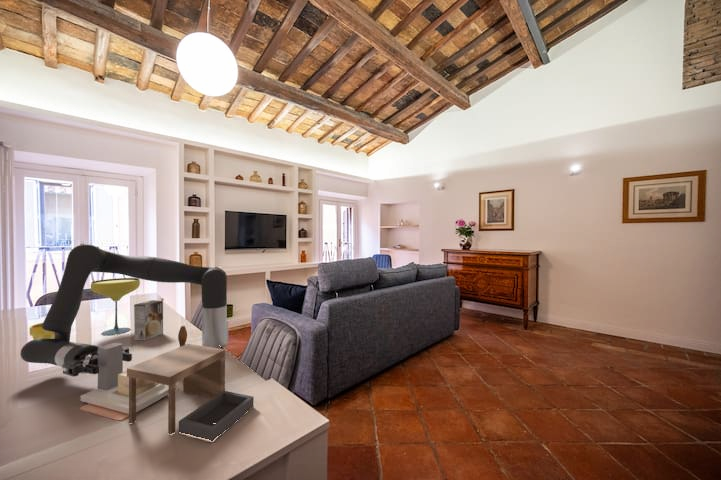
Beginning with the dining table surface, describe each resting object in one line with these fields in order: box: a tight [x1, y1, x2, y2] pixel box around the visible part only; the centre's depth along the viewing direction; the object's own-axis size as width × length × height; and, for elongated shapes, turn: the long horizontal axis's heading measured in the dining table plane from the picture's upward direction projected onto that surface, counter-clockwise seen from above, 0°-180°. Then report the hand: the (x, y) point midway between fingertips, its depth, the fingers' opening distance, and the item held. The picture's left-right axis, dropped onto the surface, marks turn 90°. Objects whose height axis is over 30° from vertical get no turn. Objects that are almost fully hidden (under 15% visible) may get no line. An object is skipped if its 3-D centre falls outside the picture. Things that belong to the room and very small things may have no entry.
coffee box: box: [133, 300, 164, 341], centre depth 130 cm, size 9×6×16 cm
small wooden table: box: [126, 343, 226, 434], centre depth 75 cm, size 17×14×14 cm
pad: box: [78, 387, 179, 421], centre depth 81 cm, size 16×16×1 cm
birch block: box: [118, 370, 155, 397], centre depth 80 cm, size 6×6×6 cm
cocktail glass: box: [90, 277, 141, 336], centre depth 137 cm, size 18×18×25 cm
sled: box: [80, 342, 168, 414], centre depth 81 cm, size 12×20×14 cm, turn 73°
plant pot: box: [29, 322, 55, 340], centre depth 117 cm, size 10×10×10 cm
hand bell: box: [177, 325, 188, 347], centre depth 96 cm, size 8×8×16 cm
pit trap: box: [178, 390, 255, 441], centre depth 71 cm, size 14×10×3 cm
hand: (114, 363), depth 83 cm, fingers open, 8 cm apart
